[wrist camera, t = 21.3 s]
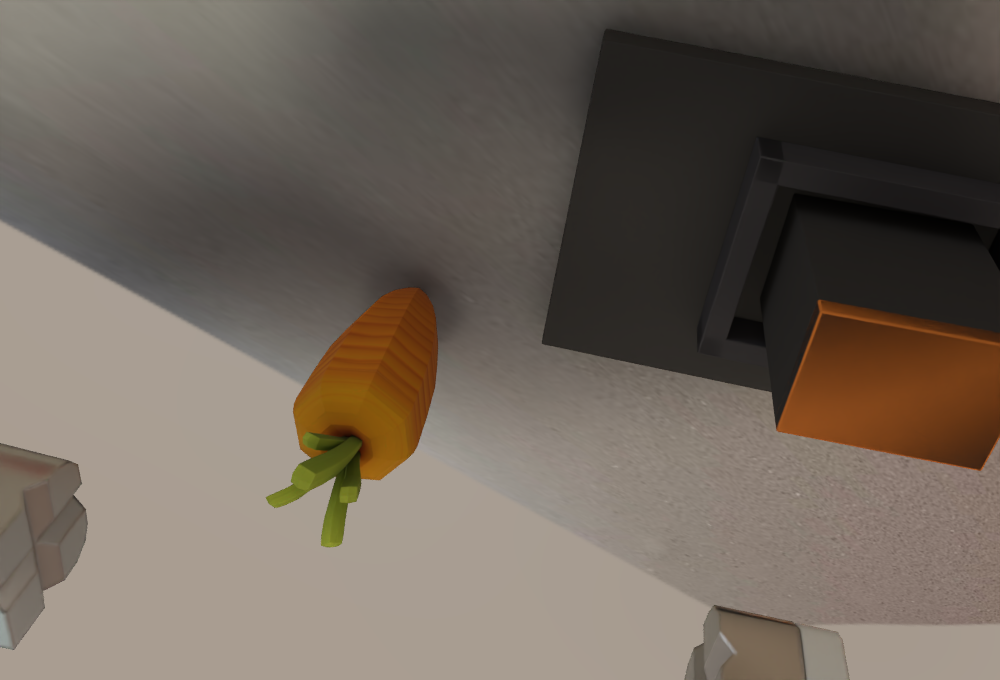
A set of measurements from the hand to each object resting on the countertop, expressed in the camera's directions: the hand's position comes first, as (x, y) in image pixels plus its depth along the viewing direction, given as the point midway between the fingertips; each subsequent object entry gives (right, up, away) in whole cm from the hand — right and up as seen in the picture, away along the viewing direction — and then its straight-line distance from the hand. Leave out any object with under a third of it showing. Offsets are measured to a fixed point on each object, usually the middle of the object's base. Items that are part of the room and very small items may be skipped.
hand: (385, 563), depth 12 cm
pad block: (+16, +6, +26) cm, 31 cm away
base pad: (+13, +7, +28) cm, 32 cm away
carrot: (-2, +5, +33) cm, 33 cm away
